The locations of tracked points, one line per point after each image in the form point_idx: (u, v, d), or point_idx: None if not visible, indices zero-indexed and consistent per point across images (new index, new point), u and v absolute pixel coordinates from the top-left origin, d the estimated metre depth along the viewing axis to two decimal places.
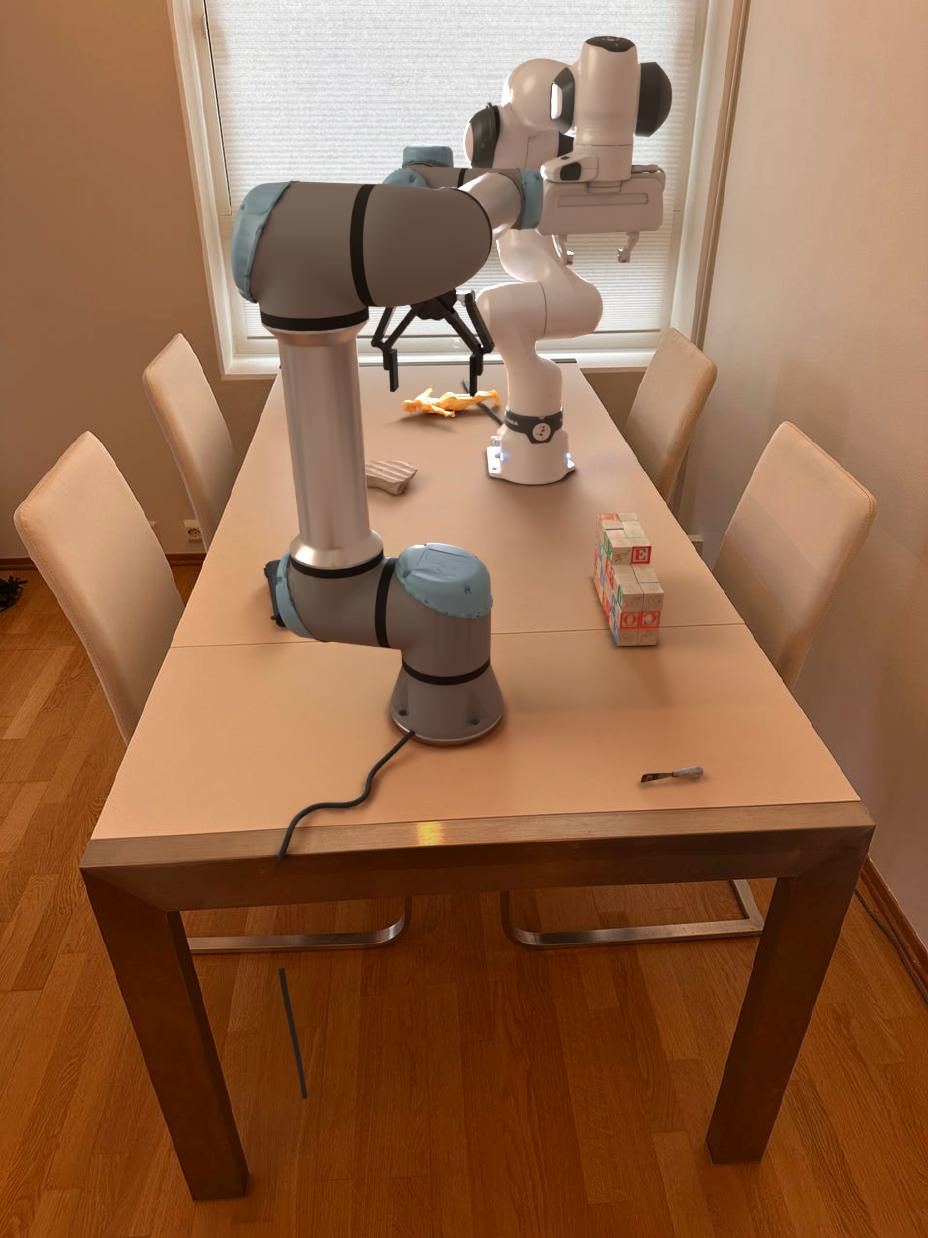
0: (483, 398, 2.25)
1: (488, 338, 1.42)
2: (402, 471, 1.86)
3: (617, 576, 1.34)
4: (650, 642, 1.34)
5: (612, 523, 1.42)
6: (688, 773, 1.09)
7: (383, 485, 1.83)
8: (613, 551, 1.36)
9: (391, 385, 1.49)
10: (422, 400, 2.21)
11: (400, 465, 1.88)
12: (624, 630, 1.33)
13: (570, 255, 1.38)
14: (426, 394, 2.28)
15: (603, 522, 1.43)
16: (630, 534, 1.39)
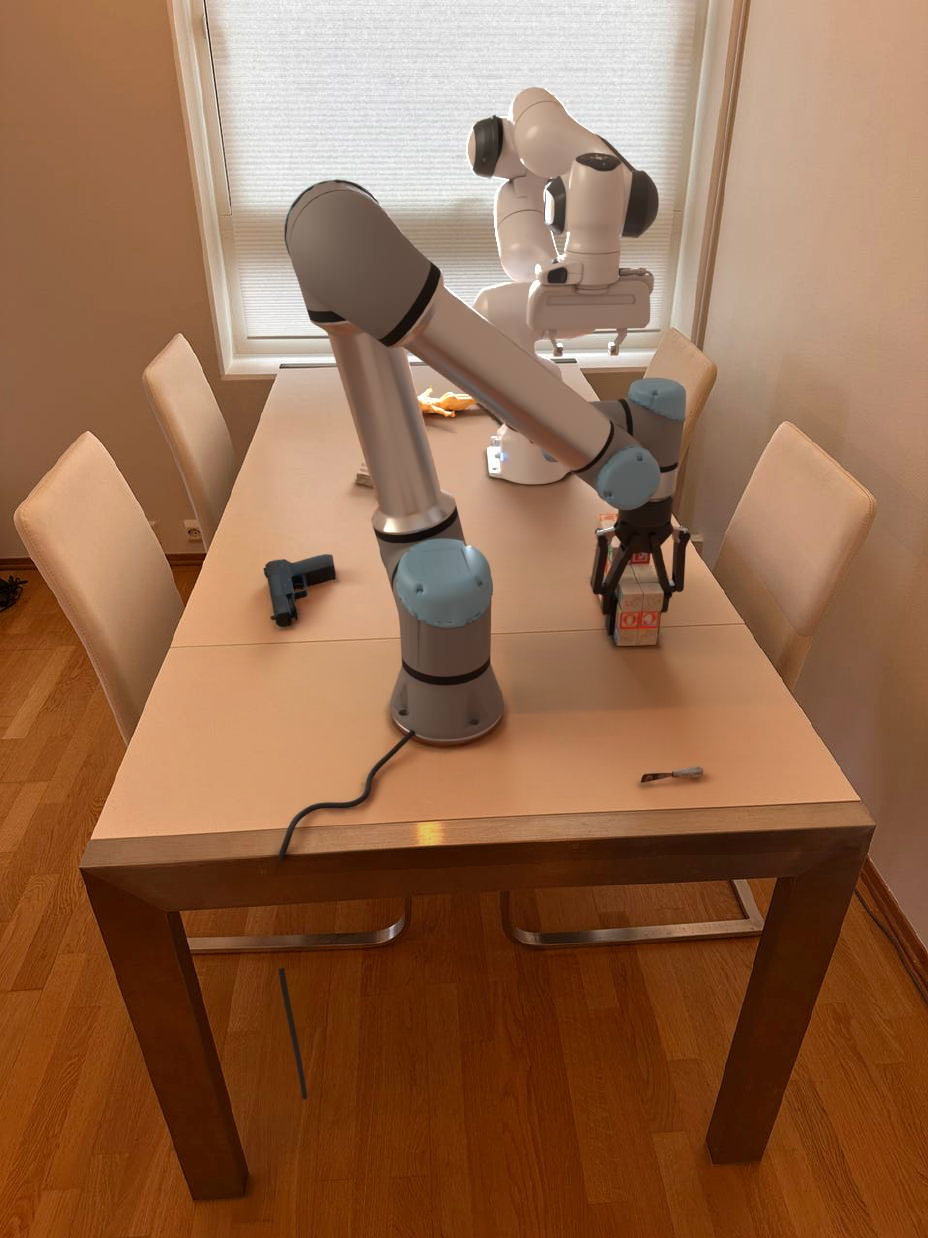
0: None
1: None
2: None
3: None
4: (650, 642, 1.34)
5: (612, 523, 1.42)
6: (688, 773, 1.09)
7: None
8: (613, 551, 1.36)
9: (611, 629, 1.36)
10: (422, 400, 2.21)
11: None
12: (624, 630, 1.33)
13: (560, 348, 1.48)
14: (426, 394, 2.28)
15: (603, 522, 1.43)
16: None
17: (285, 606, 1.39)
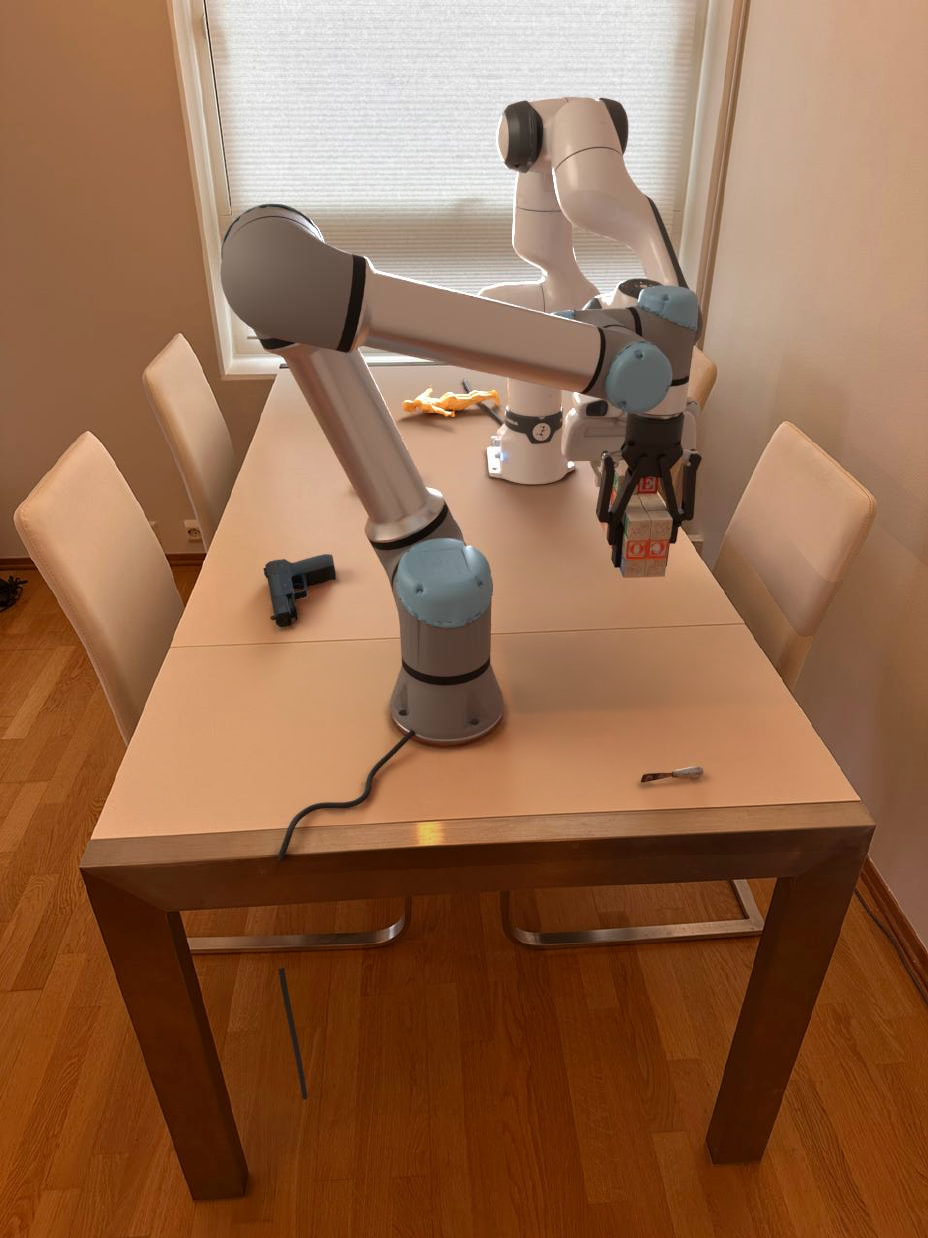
0: (483, 398, 2.25)
1: None
2: None
3: None
4: (658, 574, 1.28)
5: None
6: (688, 773, 1.09)
7: None
8: (619, 480, 1.30)
9: (617, 561, 1.29)
10: (422, 400, 2.21)
11: None
12: (631, 561, 1.26)
13: None
14: (426, 394, 2.28)
15: None
16: None
17: (285, 606, 1.39)
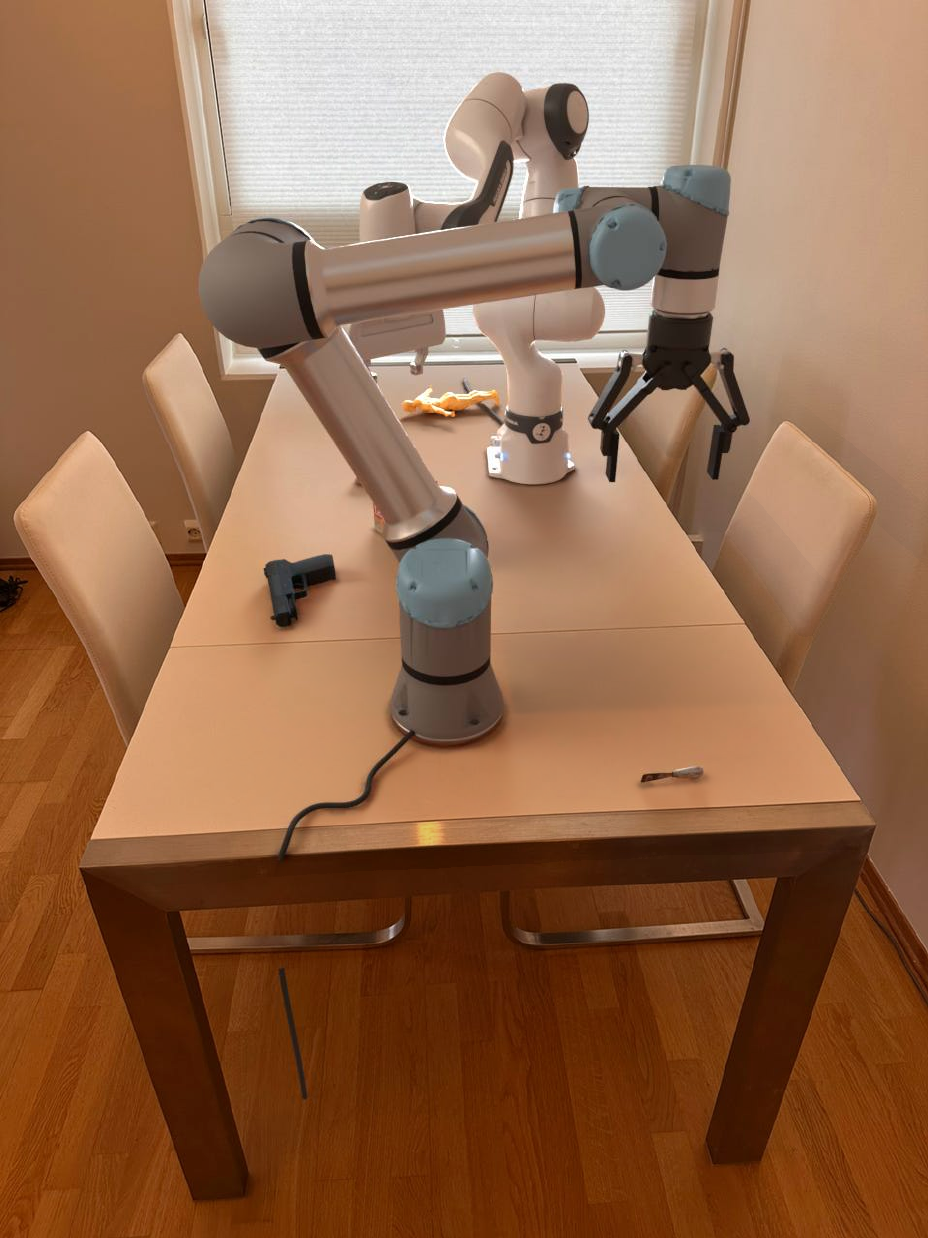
0: (483, 398, 2.25)
1: None
2: None
3: None
4: None
5: None
6: (688, 773, 1.09)
7: None
8: None
9: (612, 474, 1.16)
10: (422, 400, 2.21)
11: None
12: None
13: (374, 376, 1.48)
14: (426, 394, 2.28)
15: None
16: None
17: (285, 606, 1.39)
